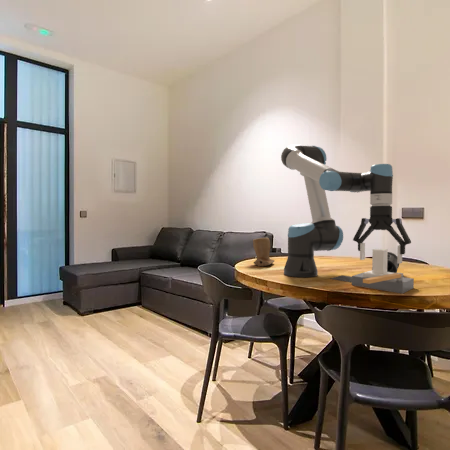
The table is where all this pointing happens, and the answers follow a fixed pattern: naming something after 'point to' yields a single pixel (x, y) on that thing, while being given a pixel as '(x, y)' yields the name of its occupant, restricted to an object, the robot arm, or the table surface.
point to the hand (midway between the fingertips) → (380, 261)
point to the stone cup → (262, 251)
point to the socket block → (386, 284)
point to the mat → (343, 278)
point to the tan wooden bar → (382, 278)
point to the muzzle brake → (392, 263)
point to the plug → (378, 264)
